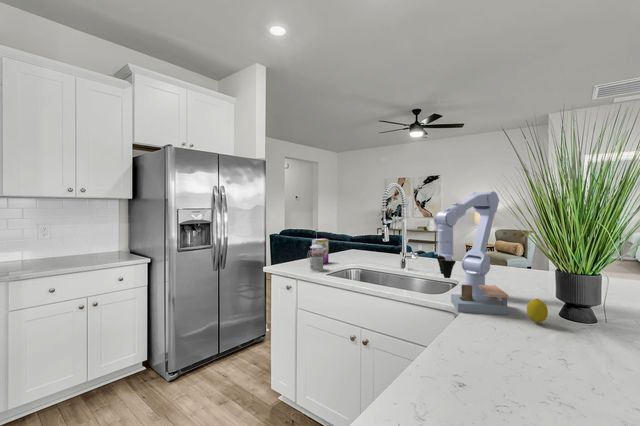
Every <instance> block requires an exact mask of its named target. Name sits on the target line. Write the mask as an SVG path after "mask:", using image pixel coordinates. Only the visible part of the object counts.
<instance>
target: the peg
mask: <svg viewBox="0 0 640 426" xmlns="http://www.w3.org/2000/svg"><path fill="white" fill-rule="evenodd" d="M461 295H462V301H472V286H471V285H465V284H461Z"/></svg>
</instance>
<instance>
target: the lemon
mask: <svg viewBox="0 0 640 426" xmlns="http://www.w3.org/2000/svg"><path fill="white" fill-rule="evenodd" d="M526 315H527V316H528V318H529V319H530V320H531V321H532V322H534V323H535V324H537V325H538V324H540V323H542V322H545V321H546V320H547V318H548V317H549V316H548V315H549V311H548V307H547V305H546V303H545V302H544V301H543V300H540V299H539V298H537V297H536V298H535V299H531V300H530V301H528V303H527V305H526Z"/></svg>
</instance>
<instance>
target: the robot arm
mask: <svg viewBox="0 0 640 426" xmlns="http://www.w3.org/2000/svg"><path fill="white" fill-rule="evenodd" d="M499 203H500V198H499V196H498V193H497V192H496V191H481V192H475V191H474V192H472V193H470V194H469V195H468V197H467V198H466V199H464V200H463V201H462V202H453V203H452V205H451V206H450V207H446V208H445V210H441V211H438V212H437V213H436V214H435V216H434V218H433V221H434V224H435V226H436V230H437V251H434V255H436V256H435V257H436V258H435V259H436V261H437V263H438V266H439V271H440V274H441V275H443V278H444V279H451V276H452V272H453V268H454V266H455V264H456V262H457V261H456V260H453V259H452V257H454V255H455V253H454V226H455V225H456V224H457V222H458V221H459V219H461V218H462V217H463V216H465V215H466V213H467V211H468V210H469V209H471V208H473V209H474V211H475V213H478V215H479V219H478V224H477V227H476V232H475V235H474V239H473V243H472V247H471V249H470V250H468V251H466V252H465V254H464V257H463V258H462V261H461V268H462V270H463V271H464V273H465V276H464V285H471V286H472V295H478V296H488V295H486V294H485V293H484V292H483V291H482V290H481V289H480V288H479V285H486V275H488V273H490V272H489V271H490V270H491V256H489V255H488V254H487V253H486V251H487V247H488V243H489V240H490V235H491V231H492V227H493V223H494V219H495V214H496V213H497V211H498V207H499Z"/></svg>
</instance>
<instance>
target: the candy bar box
mask: <svg viewBox="0 0 640 426" xmlns="http://www.w3.org/2000/svg"><path fill="white" fill-rule="evenodd" d="M312 245H316V238H314V239H311V246H312ZM317 245H321V246H323V248H320V249H317V253H322V255H320V256H323V263H324V264H327V263H326V262H328V263H329V250H330V249H329V248H330V247H329V239H328V238H317ZM312 250H313V251H312ZM312 252H313V253H316V249H312V248H311V253H312ZM311 256H314V255H311ZM318 260H319V259H318ZM318 262H319V261H318Z"/></svg>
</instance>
